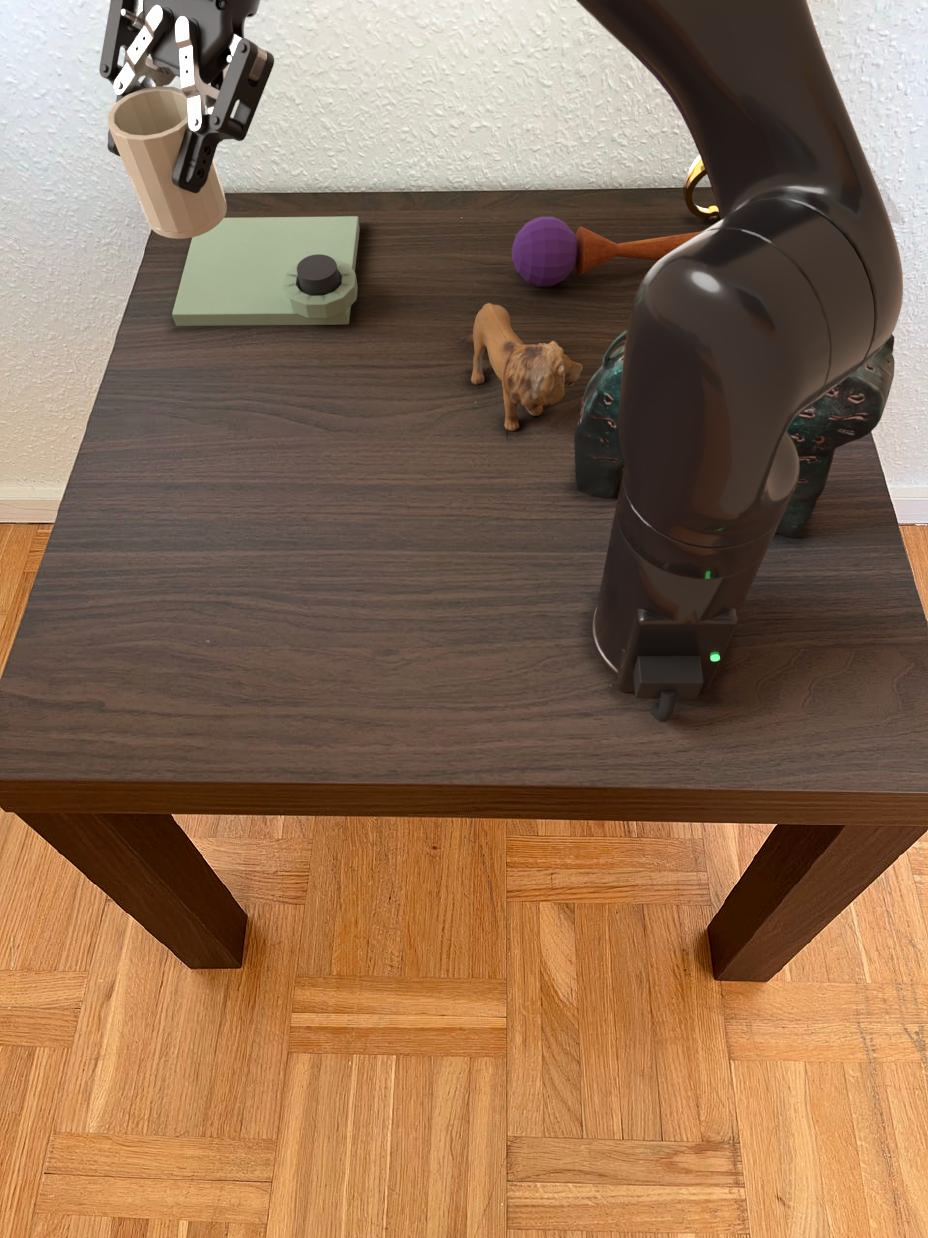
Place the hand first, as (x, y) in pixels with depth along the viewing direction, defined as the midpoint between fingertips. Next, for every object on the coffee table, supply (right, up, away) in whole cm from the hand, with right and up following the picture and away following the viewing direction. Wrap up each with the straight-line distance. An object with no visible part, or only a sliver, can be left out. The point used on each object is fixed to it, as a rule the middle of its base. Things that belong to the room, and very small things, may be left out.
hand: (152, 171), depth 66 cm
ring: (+47, +7, +24) cm, 54 cm away
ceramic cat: (+41, -24, +6) cm, 48 cm away
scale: (+4, 0, +21) cm, 22 cm away
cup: (+1, -1, +4) cm, 5 cm away
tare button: (+10, -2, +16) cm, 19 cm away
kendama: (+37, 0, +20) cm, 42 cm away
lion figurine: (+27, -13, +12) cm, 33 cm away
